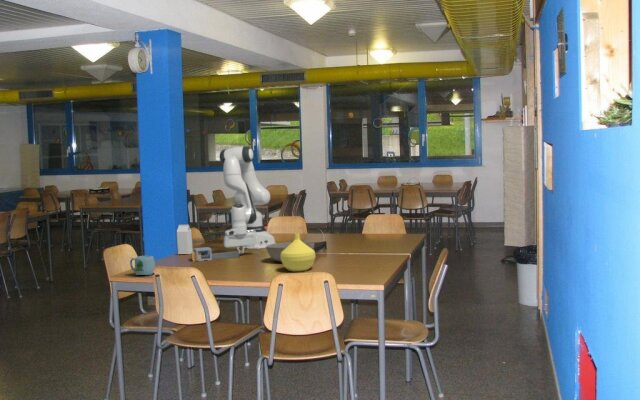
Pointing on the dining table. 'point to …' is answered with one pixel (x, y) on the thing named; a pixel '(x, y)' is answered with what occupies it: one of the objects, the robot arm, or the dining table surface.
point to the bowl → (281, 249)
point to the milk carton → (184, 239)
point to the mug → (143, 265)
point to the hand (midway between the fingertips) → (241, 253)
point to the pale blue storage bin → (203, 251)
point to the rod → (221, 255)
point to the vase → (297, 255)
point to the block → (195, 256)
